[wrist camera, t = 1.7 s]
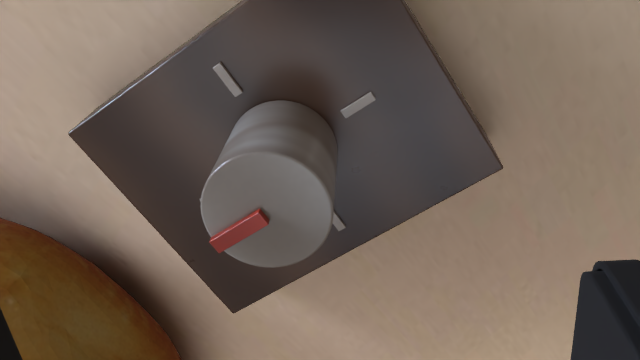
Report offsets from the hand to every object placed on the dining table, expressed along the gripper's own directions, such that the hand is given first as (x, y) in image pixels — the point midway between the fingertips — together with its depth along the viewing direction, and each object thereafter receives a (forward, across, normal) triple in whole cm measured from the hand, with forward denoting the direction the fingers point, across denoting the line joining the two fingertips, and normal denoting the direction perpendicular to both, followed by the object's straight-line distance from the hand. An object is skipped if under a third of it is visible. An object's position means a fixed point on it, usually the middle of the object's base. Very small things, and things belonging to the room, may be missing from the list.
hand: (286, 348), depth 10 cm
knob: (+14, +2, +3) cm, 15 cm away
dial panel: (+17, +2, +3) cm, 18 cm away
